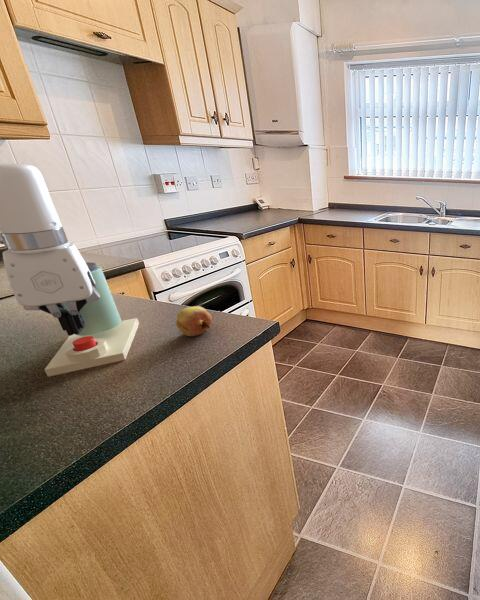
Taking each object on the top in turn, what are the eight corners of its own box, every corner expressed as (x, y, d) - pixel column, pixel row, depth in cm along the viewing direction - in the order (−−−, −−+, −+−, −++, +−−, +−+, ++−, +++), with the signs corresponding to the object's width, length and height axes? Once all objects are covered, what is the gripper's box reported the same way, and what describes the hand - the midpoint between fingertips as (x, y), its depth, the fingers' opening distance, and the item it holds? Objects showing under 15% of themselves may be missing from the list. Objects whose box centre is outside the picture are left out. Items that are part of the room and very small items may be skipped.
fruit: (160, 312, 76) (184, 322, 71) (188, 295, 81) (212, 303, 76) (176, 335, 80) (200, 345, 75) (202, 317, 85) (226, 326, 80)
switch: (94, 349, 67) (91, 341, 66) (73, 353, 66) (69, 345, 65) (98, 342, 70) (95, 334, 69) (78, 346, 68) (75, 338, 68)
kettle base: (125, 360, 69) (119, 345, 68) (47, 377, 64) (39, 361, 62) (139, 324, 84) (134, 311, 82) (77, 335, 78) (71, 322, 77)
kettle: (115, 333, 72) (91, 272, 66) (64, 343, 68) (34, 279, 63) (126, 311, 82) (106, 257, 77) (82, 319, 79) (57, 262, 73)
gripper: (-38, 249, 52) (15, 350, 60) (86, 240, 59) (119, 331, 66) (-12, 239, 58) (32, 331, 66) (97, 231, 65) (127, 316, 72)
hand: (76, 331), depth 66 cm, fingers closed
